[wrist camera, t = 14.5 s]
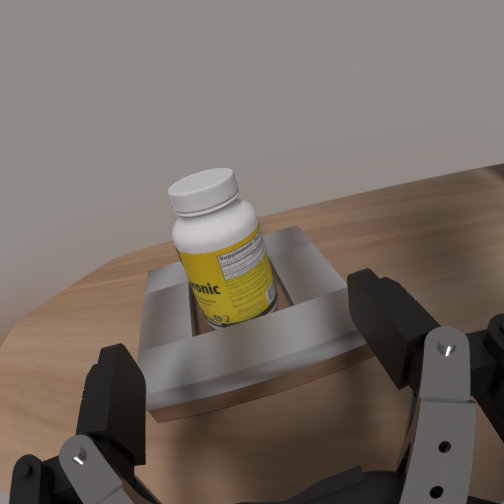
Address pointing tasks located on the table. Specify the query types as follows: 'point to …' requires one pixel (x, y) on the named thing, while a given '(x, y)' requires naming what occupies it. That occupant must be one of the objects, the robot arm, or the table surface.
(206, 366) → the mount block
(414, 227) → the table surface
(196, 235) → the supplement bottle
